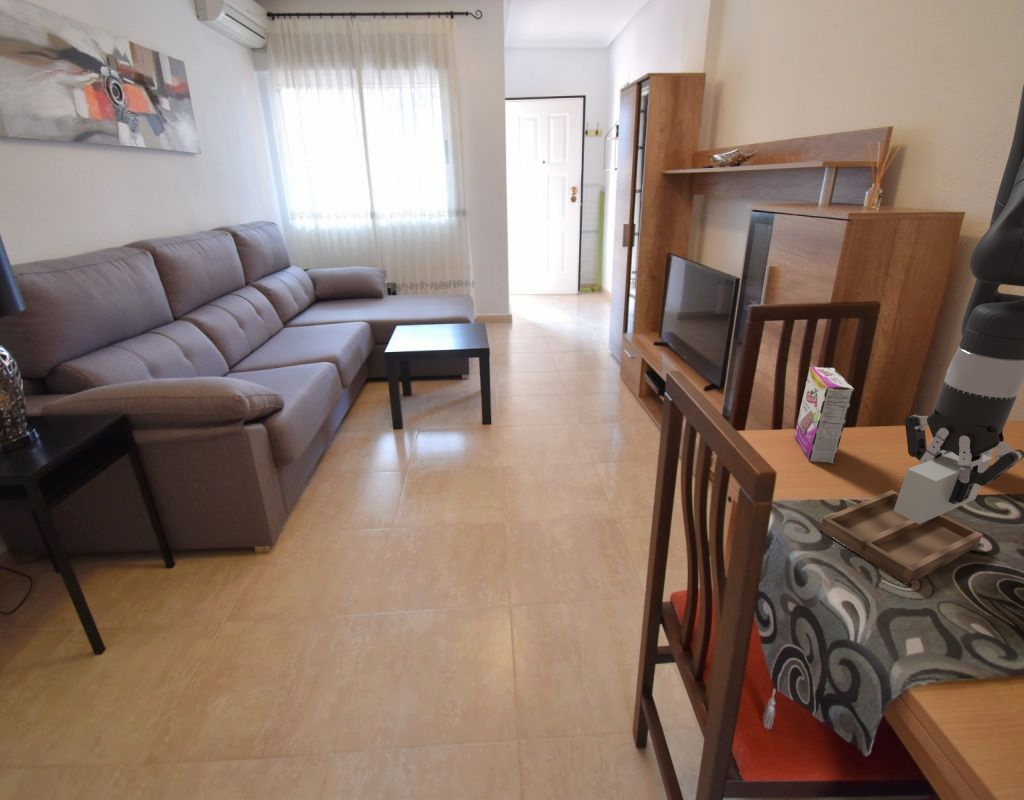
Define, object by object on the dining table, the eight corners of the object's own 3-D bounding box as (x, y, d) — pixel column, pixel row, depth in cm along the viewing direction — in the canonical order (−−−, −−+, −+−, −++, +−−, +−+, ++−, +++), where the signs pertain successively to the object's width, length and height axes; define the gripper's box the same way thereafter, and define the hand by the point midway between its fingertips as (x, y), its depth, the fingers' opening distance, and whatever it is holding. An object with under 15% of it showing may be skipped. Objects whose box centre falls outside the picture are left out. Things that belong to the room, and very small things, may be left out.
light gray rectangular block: (948, 487, 81) (964, 447, 78) (975, 498, 78) (992, 457, 75) (893, 510, 76) (907, 468, 73) (919, 524, 73) (935, 481, 70)
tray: (888, 502, 92) (892, 490, 91) (977, 547, 81) (983, 534, 80) (819, 530, 85) (822, 518, 84) (906, 585, 74) (912, 571, 73)
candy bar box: (791, 436, 115) (808, 365, 108) (816, 438, 114) (835, 367, 107) (807, 462, 105) (826, 386, 98) (834, 464, 104) (856, 388, 97)
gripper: (1064, 398, 65) (1011, 514, 72) (938, 363, 77) (902, 466, 83) (1033, 409, 62) (981, 529, 69) (907, 371, 74) (873, 477, 80)
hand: (938, 494), depth 76 cm, fingers closed on light gray rectangular block, 3 cm apart
